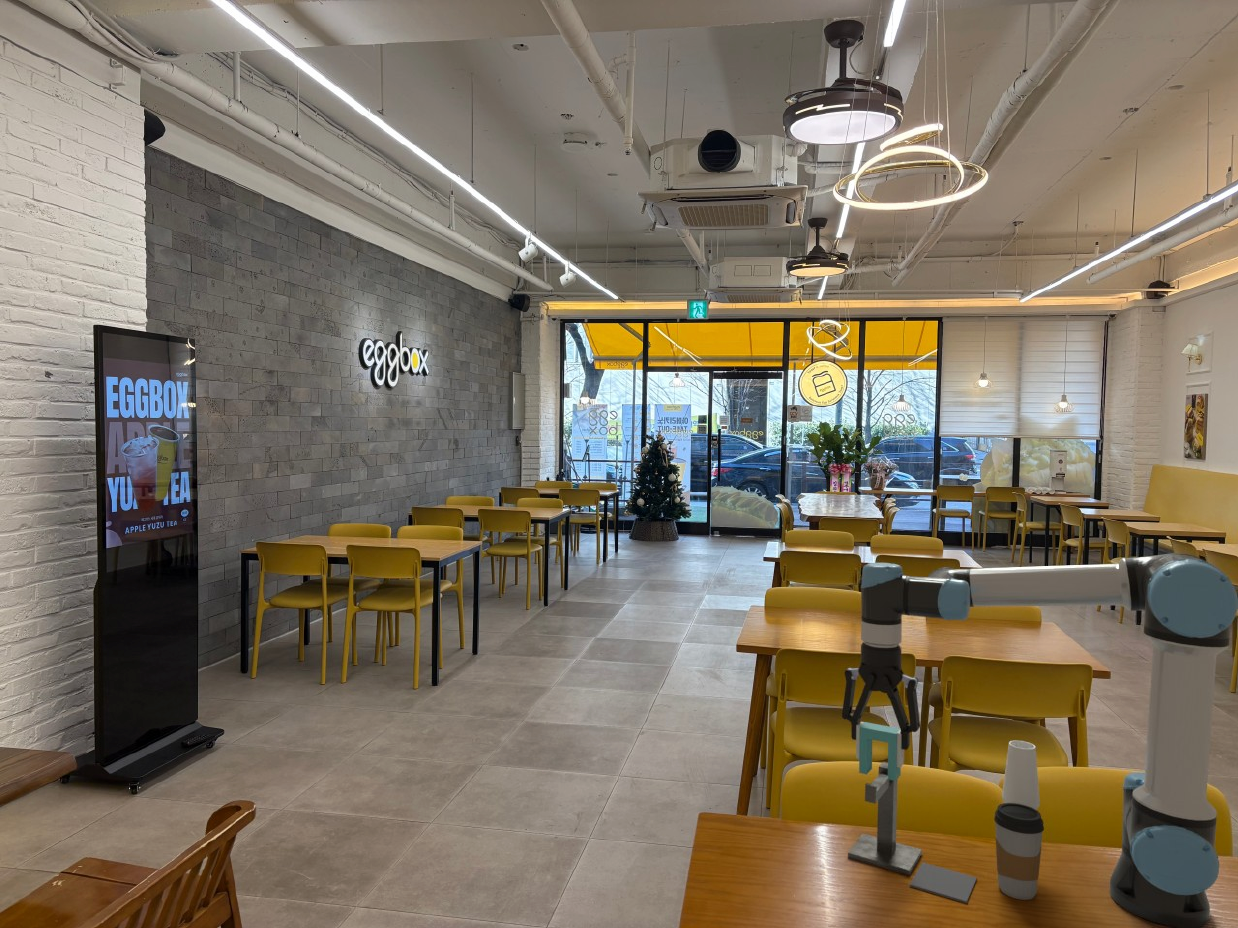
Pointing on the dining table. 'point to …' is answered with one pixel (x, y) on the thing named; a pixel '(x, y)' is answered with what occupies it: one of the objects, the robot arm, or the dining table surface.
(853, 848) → the stand
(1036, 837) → the coffee cup
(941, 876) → the mat
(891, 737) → the u-shaped block
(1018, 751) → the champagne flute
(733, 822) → the dining table surface
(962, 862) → the dining table surface
